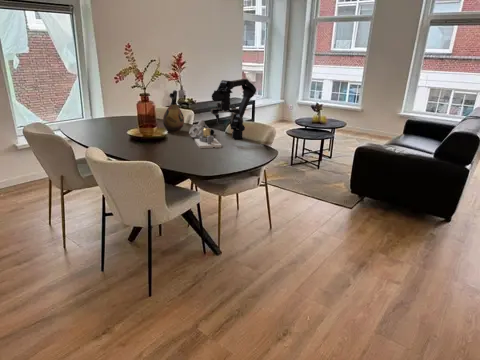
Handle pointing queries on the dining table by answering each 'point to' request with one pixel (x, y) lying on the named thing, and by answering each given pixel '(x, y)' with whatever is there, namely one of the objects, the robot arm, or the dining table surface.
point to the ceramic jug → (173, 116)
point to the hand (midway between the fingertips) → (225, 124)
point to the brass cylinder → (206, 132)
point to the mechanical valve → (199, 130)
